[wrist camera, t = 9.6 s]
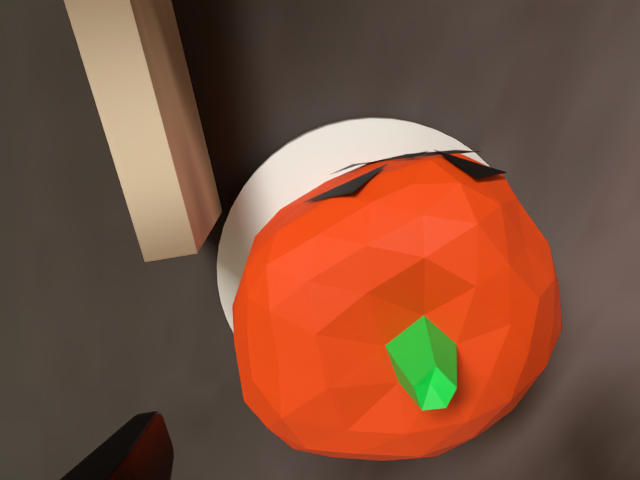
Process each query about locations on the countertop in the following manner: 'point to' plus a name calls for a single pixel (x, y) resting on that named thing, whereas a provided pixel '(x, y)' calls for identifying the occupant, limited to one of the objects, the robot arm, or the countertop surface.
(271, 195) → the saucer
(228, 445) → the countertop surface
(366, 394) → the pumpkin
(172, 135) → the wooden frame
